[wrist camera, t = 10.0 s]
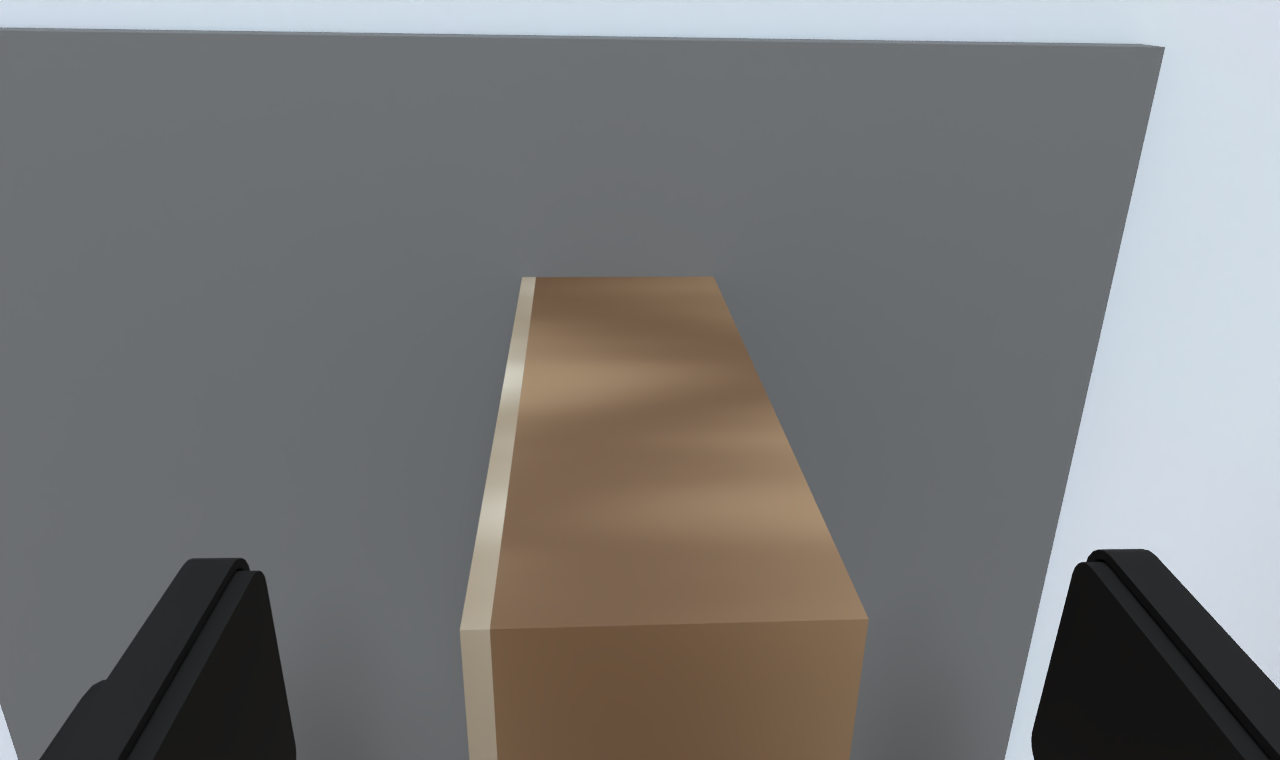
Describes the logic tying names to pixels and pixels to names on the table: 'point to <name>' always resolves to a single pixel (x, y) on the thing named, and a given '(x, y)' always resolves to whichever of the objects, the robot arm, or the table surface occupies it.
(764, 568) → the brown wooden block
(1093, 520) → the table surface
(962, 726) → the mat
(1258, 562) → the table surface
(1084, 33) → the table surface
